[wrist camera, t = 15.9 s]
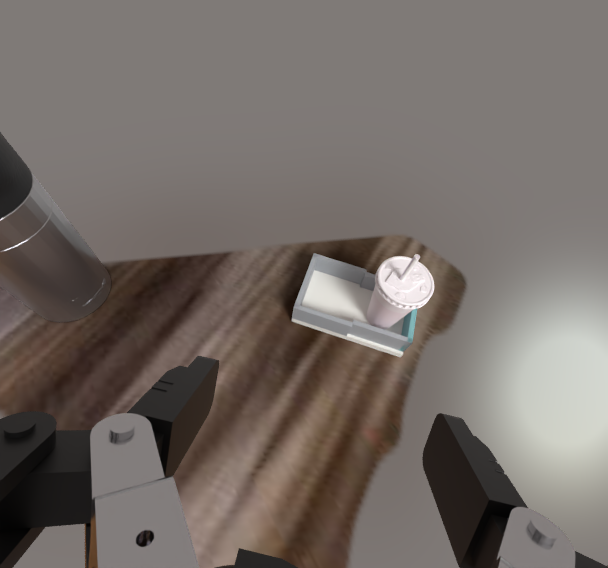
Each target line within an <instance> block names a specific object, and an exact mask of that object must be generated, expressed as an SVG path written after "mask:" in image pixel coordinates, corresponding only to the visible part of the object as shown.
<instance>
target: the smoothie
mask: <svg viewBox="0 0 608 568" xmlns="http://www.w3.org/2000/svg"><path fill="white" fill-rule="evenodd" d="M419 258H420V256H419V255H417V254H416V255H414V257H413V258H409V257H404V256H396V257H391V258H389V259H387V260H385V261H384V262H383V263H382V264H381V266H380V267H379V268H378V270H377V272H376V276H375V283H376V284H375V287H374V291H373V294H372V297H371V300H370V304H369V307H368V310H367V314H366V316H367V320H368V322H369V324H370V325H371V326H374V327H377V328H381V329H384V330H385V329H388V328H390V327H391V326H392V325H394V324H395V323H396V322H398V321H399V320H400V319H401V318H403V317H404V316H405V315H407V314H408V313H409V312H411V311H412V310H414V309H416V308H420V307H422V306H423V305H425V304H426V303H427V302H428V300H429V299H430V297H431V296H432V294H433V291H434V281H433V278H432V276H431V274H430V272H429V271H428V269H427V268H426V267H425V266H424V265H422V264H421V263H420V262H418V260H419Z"/></svg>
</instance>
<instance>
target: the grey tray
mask: <svg viewBox="0 0 608 568" xmlns="http://www.w3.org/2000/svg"><path fill="white" fill-rule="evenodd" d="M375 276H376V275H374V274H371V273H368V272H366V269H363V268H360V267H357V266H353V265H350V264H347V263H344V262H341V261H337V260H334V259H331V258H328V257H325V256H322V255H318V254H315V253H314V255H313V257H312V260H311V262H310V265H309V268H308V270H307V273H306V276H305V278H304V281H303V284H302V286H301V289H300V292H299V294H298V297H297V300H296V302H295V305H294V308H293V314H292V322H295V323H298V324H301V325H304V326H307V327H310V328H313V329H316V330H319V331H322V332H325V333H328V334H331V335H334V336H337V337H340V338H343V339H346V340H349V341H353V342H356V343H359V344H362V345H365V346H368V347H371V348H374V349H377V350H380V351H383V352H386V353H389V354H392V355H395V356H398V357H401V356H402V355H403V352H404V351H405V350H406V349H407V348H408V347H409V346H410V345H411V344H412V340H413V334H414V327H415V320H416V313H417V308H416V309H414V310H412V311H411V312H409V313H408V314H407V315H405V316H404V317H403V318H401V319H400V320H399V321H398V322H396V323H395V324H394V325H392V326H391V327H390V328H388V329H385V330H384V329H381V328H377V327H374V326H371V325H370V324H369V322H368V320H367V316H366V314H367V310H368V307H369V304H370V300H371V297H372V294H373V291H374V287H375V284H376V283H375Z"/></svg>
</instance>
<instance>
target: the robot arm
mask: <svg viewBox="0 0 608 568" xmlns="http://www.w3.org/2000/svg"><path fill="white" fill-rule="evenodd" d="M0 287H1V288H3V289H4V290H5V291H7V292H8V293H9V294H11V295H12V296H14V297H15V298H16V299H18V300H19V301H20V302H22V303H23V304H24V305H26V306H27V307H29V308H30V309H31V310H33V311H34V312H36V313H37V314H38V315H40V316H41V317H43V318H44V319H47V320H49V321H53V322H70V321H74V320H78V319H81V318H83V317H85V316H87V315H89V314H91V313H92V312H94V311H95V310H96V309H97V308H99V307H100V306H101V305H102V304H103V302H104V301H105V300H106V298H107V296H108V295H109V292H110V289H111V278H110V275H109V273H108V271H107V270H106V268H105V267H104V266H103V265H102V263H101V262H100V261H99V259H98V258H97V257H96V255H95V254H94V253H93V251H92V250H91V249H90V247H89V246H88V245H87V243H86V242H85V241H84V240H83V238H82V237H81V236H80V235H79V233H78V232H77V230H76V229H75V228H74V227H73V225H72V224H71V223H70V221H69V220H68V219H67V217H66V216H65V215H64V213H63V212H62V211H61V210H60V208H59V207H58V206H57V204H56V203H55V202H54V200H53V199H52V198H51V197H50V195H49V194H48V193H47V191H45V189H44V188H43V186H42V185H41V184H40V182H39V181H38V180H37V179H36V177H35V176H34V175H33V173H32V172H31V171H30V170H29V168H28V167H27V165H26V164H25V163H24V162H23V160H22V159H21V158H20V157H19V156H18V154H17V153H16V151H15V150H14V149H13V148H12V147H11V145H10V144H9V143H8V142H7V140H6V139H5V138H4V136H3V135H2V134H1V133H0ZM218 368H219V360H215V359H211V358H207V357H202V356H197V357H196V359H195V360H194V361H193V362H192V363H191V364H190V365H189V367H188V368H187V367H183V366H178V367H176V368H174V369H171V370H169V371H167V372H166V373H165V374H164V375H163V376H162V377H161V378H160V379H159V381H158V382H156V383H155V384H154V385H153V386H152V388H151V389H150V390H149V391H148V392H147V393H146V394H145V395H144V396H143V397H142V398H141V399H140V400H139V401H138V402H137V403H136V404H135V405H134V406H133V407H132V408H131V409H130V410H129V411H128V412H127V413H123V414H117V415H113V416H110V417H107V418H105V419H103V420H102V421H100V422H99V423H97V424H96V425H95V426H94V428H93V429H92V430H77V431H56V420H55V418H54V417H53V416H51V415H50V414H47V413H44V412H22V413H17V414H13V415H10V416H7V417H4V418H2V419H0V568H12V567H14V565H15V564H16V563H17V562H18V560H19V559H20V558H21V557H22V555H23V554H24V553H25V552H26V550H27V549H28V548H29V547H30V545H31V544H32V543H33V542H34V540H35V539H36V538H37V537H38V536H39V534H40V533H41V532H42V530H43V529H44V528H45V527H49V526H61V525H73V524H84V526H85V527H84V530H85V531H84V532H85V533H84V534H85V568H199V565H198V561H197V558H196V554H195V551H194V547H193V544H192V540H191V537H190V533H189V530H188V526H187V523H186V519H185V516H184V512H183V509H182V505H181V502H180V498H179V495H178V491H177V488H176V484H175V481H174V479H173V475H174V473H175V471H176V470H177V468H178V466H179V464H180V463H181V461H182V459H183V458H184V456H185V454H186V452H187V451H188V449H189V447H190V445H191V444H192V442H193V440H194V438H195V437H196V435H197V433H198V431H199V430H200V428H201V426H202V424H203V423H204V421H205V419H206V418H207V416H208V414H209V411H210V409H211V406H212V402H213V398H214V392H215V386H216V380H217V374H218ZM423 467H424V471H425V474H426V476H427V479H428V481H429V485H430V487H431V490H432V493H433V496H434V499H435V501H436V504H437V507H438V510H439V513H440V515H441V518H442V521H443V524H444V526H445V529H446V532H447V535H448V537H449V540H450V543H451V546H452V549H453V551H454V554H455V557H456V560H457V563H458V565H459V567H460V568H608V566H605V565H603V564H601V563H599V562H597V561H595V560H593V559H591V558H589V557H586V556H584V555H582V554H580V553H578V552H576V551H575V550H574V547H573V545H572V543H571V541H570V540H569V538H568V537H567V536H566V535H565V534H564V532H563V531H562V530H561V529H560V528H559V527H557V526H556V525H555V524H554V523H553V522H551V521H550V520H549V519H547V518H546V517H545V516H543V515H541V514H540V513H538V512H536V511H534V510H531V509H528V507H527V506H526V504H525V503H524V501H523V500H522V498H521V497H520V495H519V494H518V492H517V491H516V489H515V487H514V486H513V484H512V483H511V481H510V480H509V478H508V477H507V475H505V474H504V471H503V469H502V468H501V466H500V465H499V464H497V460H496V458H495V457H494V456H493V454H492V453H491V451H490V450H489V448H488V447H487V446H486V445H485V444H483V443H482V442H481V441H480V440H479V439H478V438H477V437H476V436H473V435H472V433H471V431H470V430H469V428H468V427H467V425H466V424H465V422H464V420H463V419H461V418H458V417H454V416H450V415H446V414H441V413H440V414H438V415H437V416H436V418H435V420H434V423H433V426H432V429H431V431H430V434H429V437H428V440H427V442H426V445H425V448H424V451H423ZM216 568H297V567H295V566H294V565H292V564H290V563H288V562H286V561H285V560H283V559H280V558H276V557H272V556H268V555H264V554H260V553H256V552H252V551H248V550H244V549H240V548H239V550H238V554H237V558H236V562H235V565H227V566H221V567H216Z"/></svg>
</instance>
